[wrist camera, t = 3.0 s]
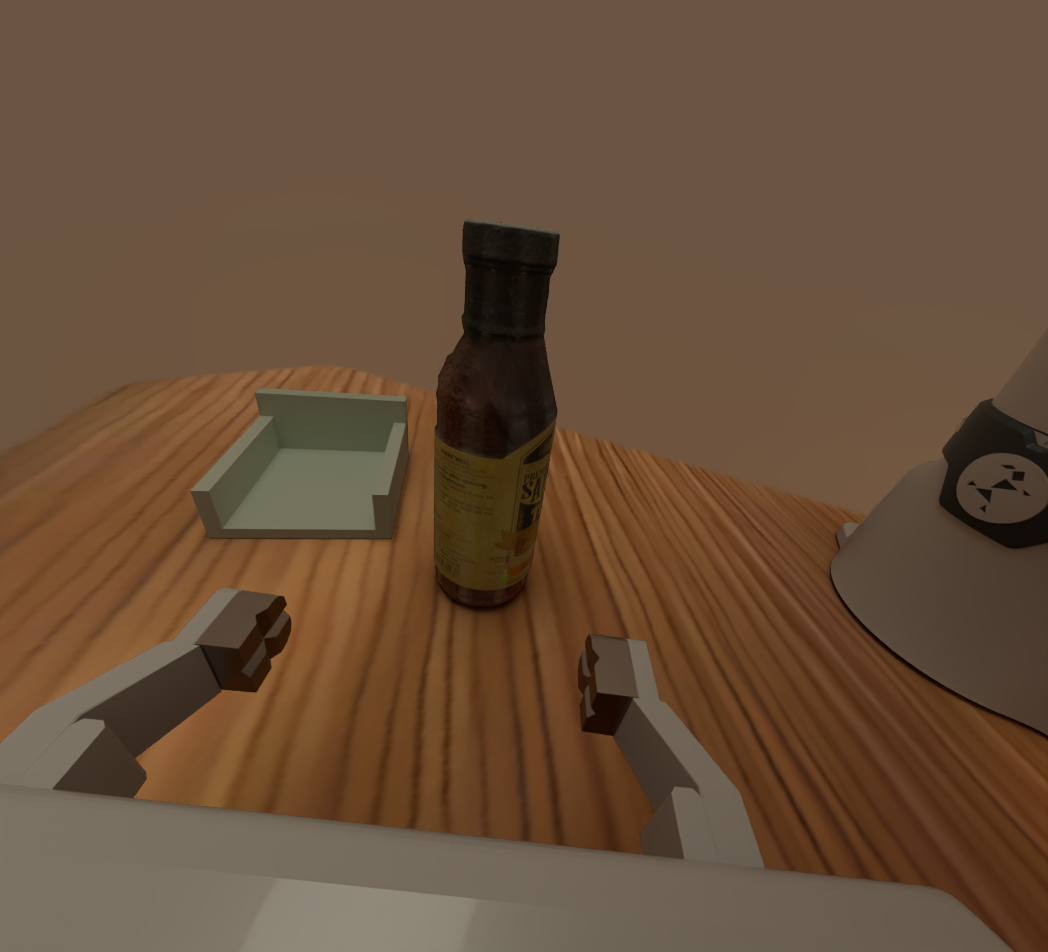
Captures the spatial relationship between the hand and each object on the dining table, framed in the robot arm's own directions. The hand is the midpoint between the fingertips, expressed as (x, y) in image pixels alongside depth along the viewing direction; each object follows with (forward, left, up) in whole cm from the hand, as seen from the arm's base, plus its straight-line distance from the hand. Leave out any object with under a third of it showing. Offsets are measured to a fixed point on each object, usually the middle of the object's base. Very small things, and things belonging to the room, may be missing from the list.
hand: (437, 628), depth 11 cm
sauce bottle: (-2, -12, -11) cm, 16 cm away
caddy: (+10, -21, -11) cm, 25 cm away
